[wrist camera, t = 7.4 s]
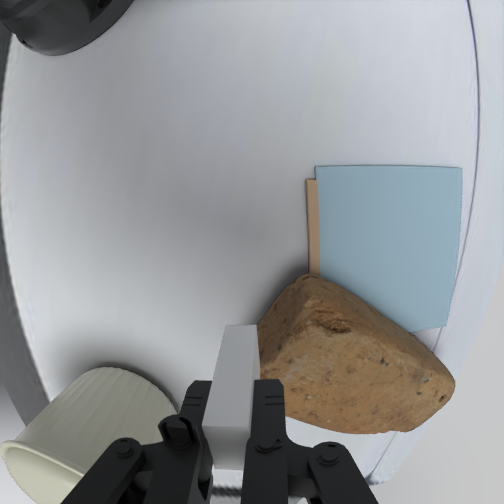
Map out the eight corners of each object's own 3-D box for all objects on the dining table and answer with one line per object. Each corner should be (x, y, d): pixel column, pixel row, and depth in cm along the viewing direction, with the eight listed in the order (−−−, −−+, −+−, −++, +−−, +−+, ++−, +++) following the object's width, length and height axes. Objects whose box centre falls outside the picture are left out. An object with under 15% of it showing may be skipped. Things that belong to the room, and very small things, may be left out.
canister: (159, 460, 37) (123, 577, 17) (55, 390, 34) (-19, 494, 14) (232, 405, 32) (207, 579, 12) (96, 311, 30) (-29, 453, 9)
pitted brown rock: (324, 304, 18) (468, 389, 22) (302, 254, 25) (437, 345, 29) (226, 408, 21) (391, 454, 26) (229, 346, 28) (372, 407, 33)
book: (304, 167, 24) (306, 167, 23) (458, 167, 23) (464, 168, 22) (309, 340, 29) (310, 346, 28) (443, 323, 28) (447, 327, 27)
